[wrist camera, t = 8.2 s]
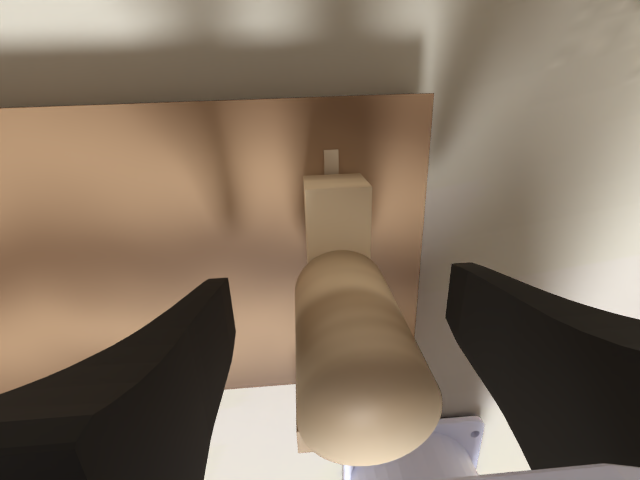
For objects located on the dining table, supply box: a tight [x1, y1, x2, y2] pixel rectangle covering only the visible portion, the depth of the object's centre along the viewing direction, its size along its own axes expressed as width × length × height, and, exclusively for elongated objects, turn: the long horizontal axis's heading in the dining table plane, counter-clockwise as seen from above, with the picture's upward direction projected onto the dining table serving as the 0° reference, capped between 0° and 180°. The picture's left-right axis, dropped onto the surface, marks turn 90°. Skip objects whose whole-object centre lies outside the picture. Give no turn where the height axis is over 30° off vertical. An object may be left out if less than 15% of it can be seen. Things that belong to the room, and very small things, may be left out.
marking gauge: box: [295, 173, 442, 466], centre depth 12 cm, size 11×4×9 cm, turn 2°
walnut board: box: [0, 93, 434, 394], centre depth 15 cm, size 12×20×2 cm, turn 92°
